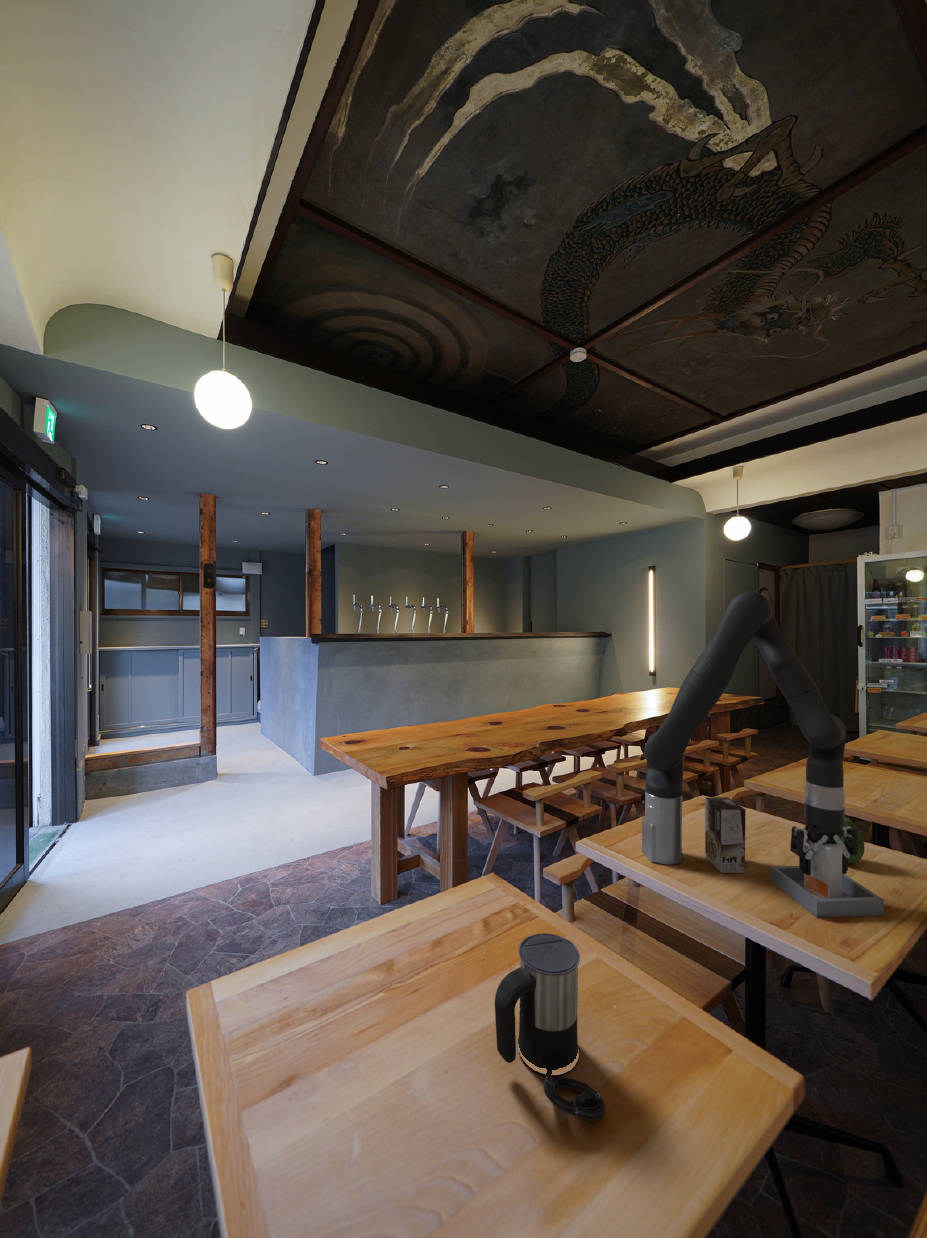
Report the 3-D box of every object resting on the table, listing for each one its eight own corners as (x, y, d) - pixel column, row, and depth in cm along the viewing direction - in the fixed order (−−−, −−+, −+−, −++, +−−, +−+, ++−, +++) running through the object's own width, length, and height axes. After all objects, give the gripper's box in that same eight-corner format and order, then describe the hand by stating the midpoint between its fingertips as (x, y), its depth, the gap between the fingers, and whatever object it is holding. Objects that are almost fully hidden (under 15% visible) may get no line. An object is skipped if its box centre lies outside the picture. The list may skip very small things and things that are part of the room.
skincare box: (803, 888, 119) (803, 837, 118) (816, 885, 120) (816, 835, 120) (830, 902, 113) (830, 849, 113) (843, 899, 114) (843, 846, 114)
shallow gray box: (816, 918, 109) (817, 901, 109) (770, 881, 124) (770, 866, 124) (883, 915, 110) (883, 899, 109) (829, 879, 125) (829, 864, 124)
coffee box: (746, 873, 127) (746, 809, 127) (720, 873, 127) (720, 809, 127) (728, 856, 136) (728, 796, 136) (704, 856, 136) (704, 796, 136)
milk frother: (538, 1015, 82) (538, 924, 82) (633, 1072, 72) (634, 968, 72) (485, 1076, 72) (485, 972, 71) (588, 1153, 61) (588, 1031, 61)
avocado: (821, 861, 133) (822, 815, 133) (832, 852, 138) (832, 808, 138) (859, 873, 127) (859, 826, 127) (868, 864, 132) (869, 818, 132)
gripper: (806, 809, 112) (805, 882, 112) (867, 808, 113) (867, 880, 113) (783, 797, 120) (782, 865, 120) (840, 796, 120) (840, 864, 121)
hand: (823, 873), depth 116 cm, fingers open, 8 cm apart
